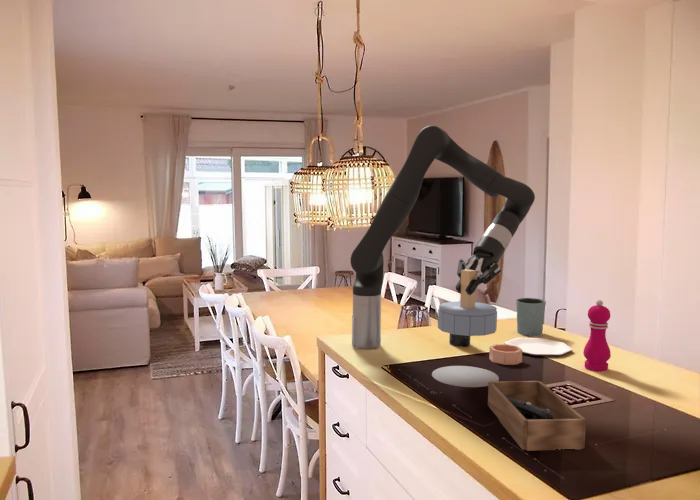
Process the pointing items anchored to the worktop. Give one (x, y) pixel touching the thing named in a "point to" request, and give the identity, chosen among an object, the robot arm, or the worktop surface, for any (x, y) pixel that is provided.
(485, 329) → the cover
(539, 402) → the caddy
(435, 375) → the mat
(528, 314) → the green cup
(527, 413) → the can opener
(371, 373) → the worktop surface
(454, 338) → the supplement bottle
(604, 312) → the pepper mill
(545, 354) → the plate
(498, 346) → the bowl
